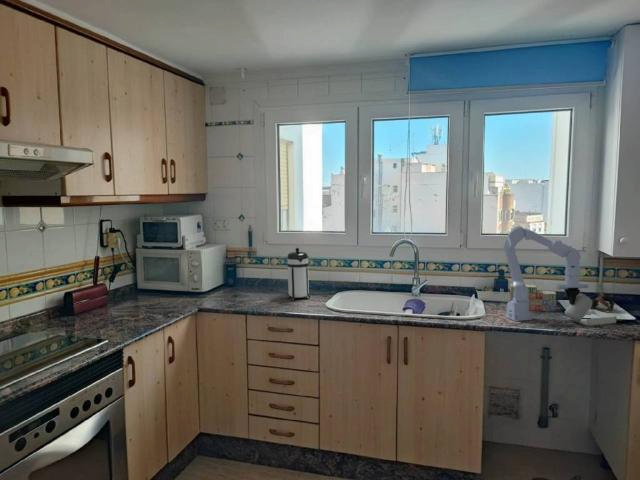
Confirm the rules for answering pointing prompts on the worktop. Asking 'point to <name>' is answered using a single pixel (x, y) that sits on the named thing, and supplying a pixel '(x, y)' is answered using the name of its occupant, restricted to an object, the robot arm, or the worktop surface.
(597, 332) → the worktop surface
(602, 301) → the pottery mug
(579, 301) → the can
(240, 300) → the worktop surface
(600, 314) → the tray
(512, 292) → the stack of blocks
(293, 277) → the coffee press
